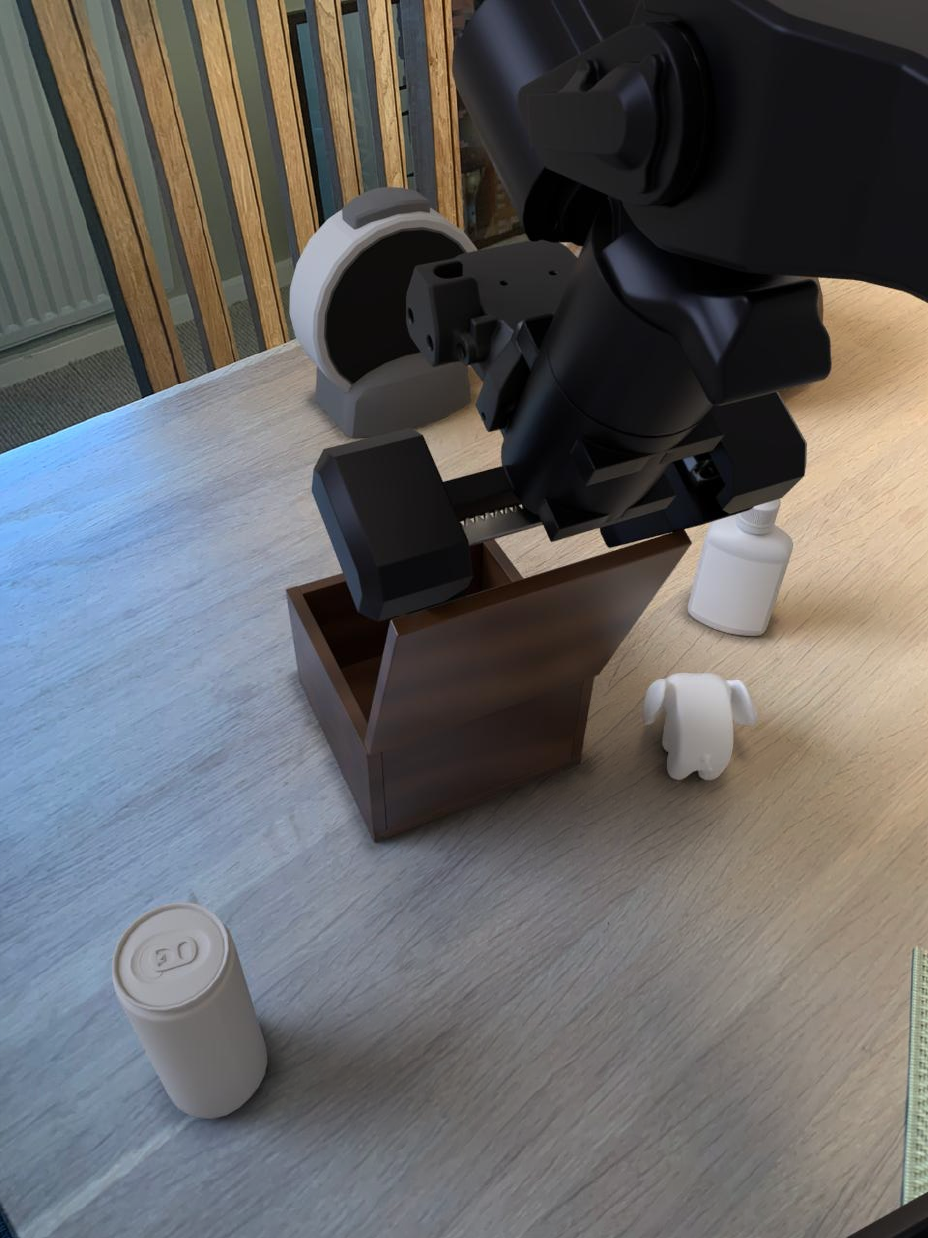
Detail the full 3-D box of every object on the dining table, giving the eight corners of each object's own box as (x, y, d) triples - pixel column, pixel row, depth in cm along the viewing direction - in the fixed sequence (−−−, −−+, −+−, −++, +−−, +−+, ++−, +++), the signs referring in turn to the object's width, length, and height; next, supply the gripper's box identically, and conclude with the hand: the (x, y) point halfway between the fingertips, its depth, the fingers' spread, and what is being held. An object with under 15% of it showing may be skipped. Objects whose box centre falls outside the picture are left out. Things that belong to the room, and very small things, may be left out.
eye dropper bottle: (736, 653, 68) (779, 517, 59) (676, 607, 71) (709, 471, 62) (778, 626, 70) (825, 490, 61) (718, 583, 73) (755, 447, 64)
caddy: (299, 680, 65) (285, 589, 60) (484, 621, 70) (488, 530, 64) (374, 843, 57) (366, 754, 51) (580, 764, 61) (595, 674, 55)
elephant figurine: (729, 705, 65) (749, 642, 60) (755, 808, 59) (779, 746, 55) (625, 704, 65) (639, 640, 60) (641, 807, 59) (657, 745, 55)
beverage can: (159, 1040, 49) (101, 920, 40) (257, 1007, 50) (220, 883, 41) (175, 1139, 46) (115, 1031, 37) (279, 1101, 47) (244, 988, 38)
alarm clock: (336, 453, 83) (318, 241, 71) (287, 395, 90) (262, 190, 77) (499, 401, 89) (509, 198, 77) (442, 350, 96) (443, 154, 83)
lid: (389, 618, 38) (397, 636, 38) (684, 527, 42) (693, 543, 42) (363, 742, 51) (369, 756, 50) (593, 662, 55) (599, 675, 55)
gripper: (762, 124, 36) (621, 376, 50) (264, 208, 30) (264, 465, 45) (914, 375, 33) (718, 568, 47) (390, 519, 27) (347, 688, 42)
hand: (517, 564), depth 45 cm, fingers open, 9 cm apart
